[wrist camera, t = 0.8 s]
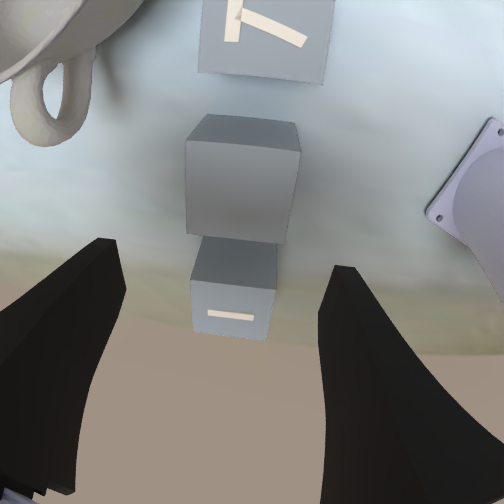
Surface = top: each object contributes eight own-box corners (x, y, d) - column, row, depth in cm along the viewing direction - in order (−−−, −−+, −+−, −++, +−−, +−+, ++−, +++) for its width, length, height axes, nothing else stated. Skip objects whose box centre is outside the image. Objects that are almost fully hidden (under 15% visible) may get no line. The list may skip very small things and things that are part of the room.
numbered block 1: (277, 238, 20) (276, 292, 16) (268, 289, 23) (265, 342, 19) (205, 230, 20) (189, 281, 16) (205, 282, 23) (192, 333, 19)
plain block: (294, 122, 15) (300, 152, 12) (282, 197, 18) (284, 244, 15) (207, 113, 15) (185, 140, 12) (204, 188, 18) (186, 233, 14)
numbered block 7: (320, -9, 11) (339, -27, 7) (309, 73, 14) (323, 86, 10) (225, -19, 11) (206, -39, 7) (218, 63, 13) (196, 72, 10)
